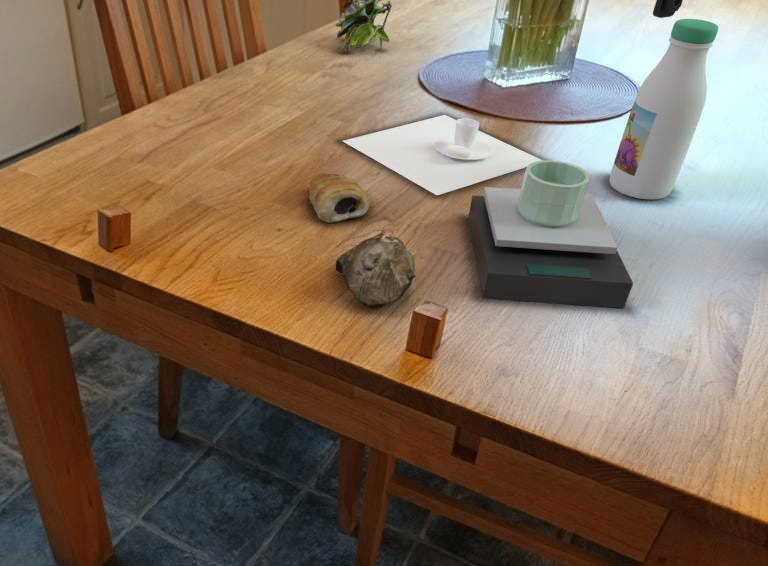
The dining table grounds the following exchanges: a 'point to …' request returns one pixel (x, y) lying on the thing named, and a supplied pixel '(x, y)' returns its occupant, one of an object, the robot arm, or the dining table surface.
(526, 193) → the cup
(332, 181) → the pastry
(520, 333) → the dining table surface
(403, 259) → the fossilized seashell
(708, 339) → the dining table surface
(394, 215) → the dining table surface
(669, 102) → the milk bottle
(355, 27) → the passion flower
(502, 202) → the scale
